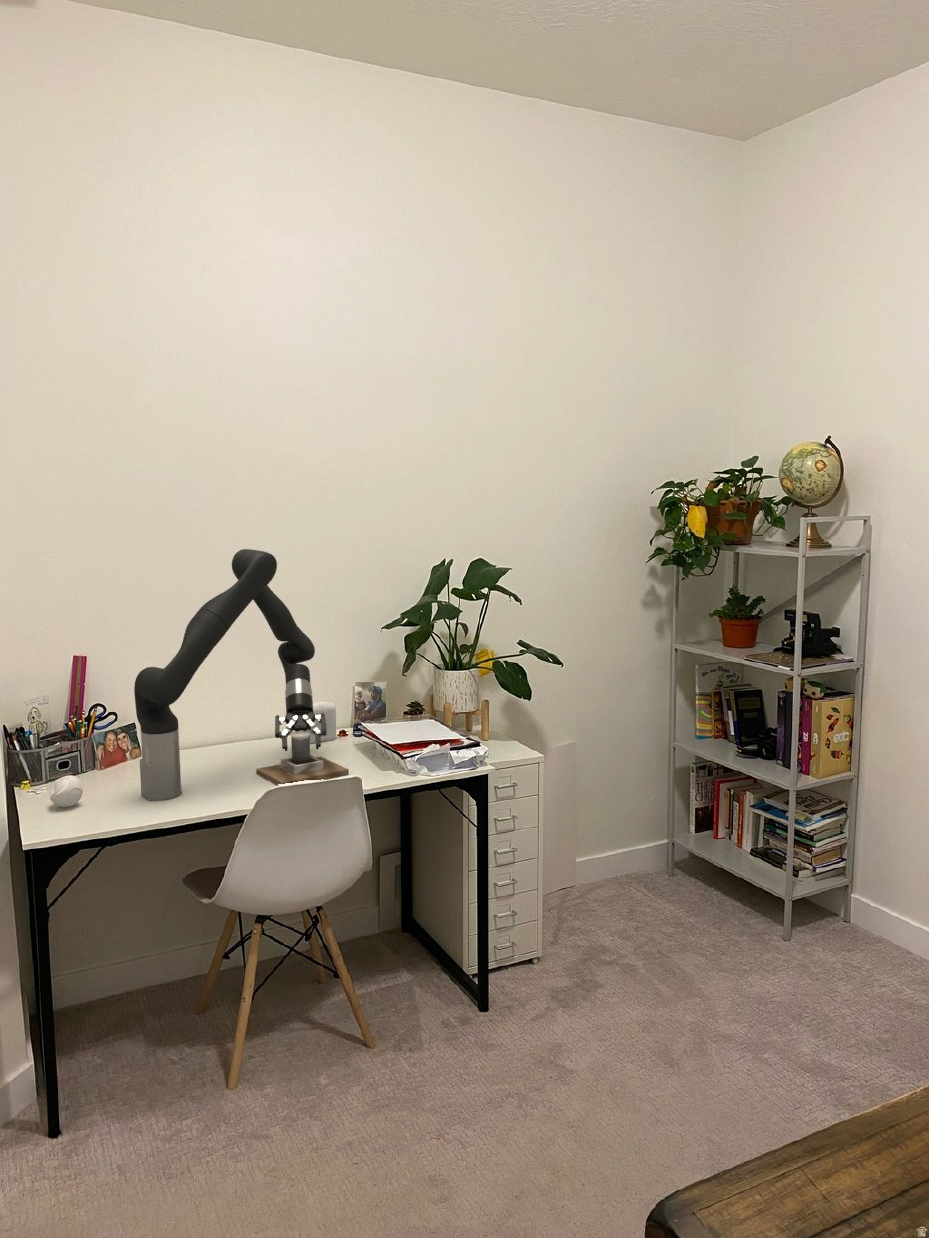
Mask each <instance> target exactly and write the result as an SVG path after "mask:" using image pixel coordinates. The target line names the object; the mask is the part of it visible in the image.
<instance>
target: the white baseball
mask: <svg viewBox="0 0 929 1238" xmlns="http://www.w3.org/2000/svg"><path fill="white" fill-rule="evenodd" d="M54 783H55V784H54V786H53V788H52V789H51V791H50V794H49V795H50V802H52V803H53V805H55V806H56V807H60V808H69V807H72V806H74V805H76V804H78V803H79V802H80V800H81V798H82V796H83V793H84V788H83V783H82V782H81V780H80V779H79V778H78V777H77V776H75V775H65V776H62V777H60V778H58V779H55V781H54Z"/></svg>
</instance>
